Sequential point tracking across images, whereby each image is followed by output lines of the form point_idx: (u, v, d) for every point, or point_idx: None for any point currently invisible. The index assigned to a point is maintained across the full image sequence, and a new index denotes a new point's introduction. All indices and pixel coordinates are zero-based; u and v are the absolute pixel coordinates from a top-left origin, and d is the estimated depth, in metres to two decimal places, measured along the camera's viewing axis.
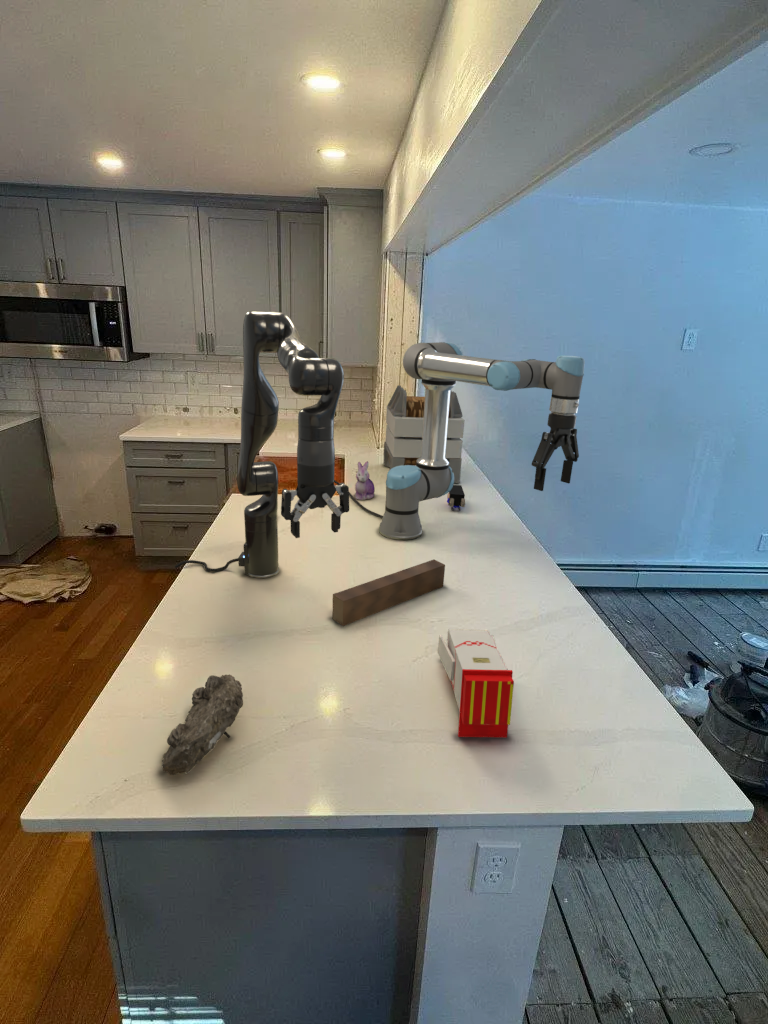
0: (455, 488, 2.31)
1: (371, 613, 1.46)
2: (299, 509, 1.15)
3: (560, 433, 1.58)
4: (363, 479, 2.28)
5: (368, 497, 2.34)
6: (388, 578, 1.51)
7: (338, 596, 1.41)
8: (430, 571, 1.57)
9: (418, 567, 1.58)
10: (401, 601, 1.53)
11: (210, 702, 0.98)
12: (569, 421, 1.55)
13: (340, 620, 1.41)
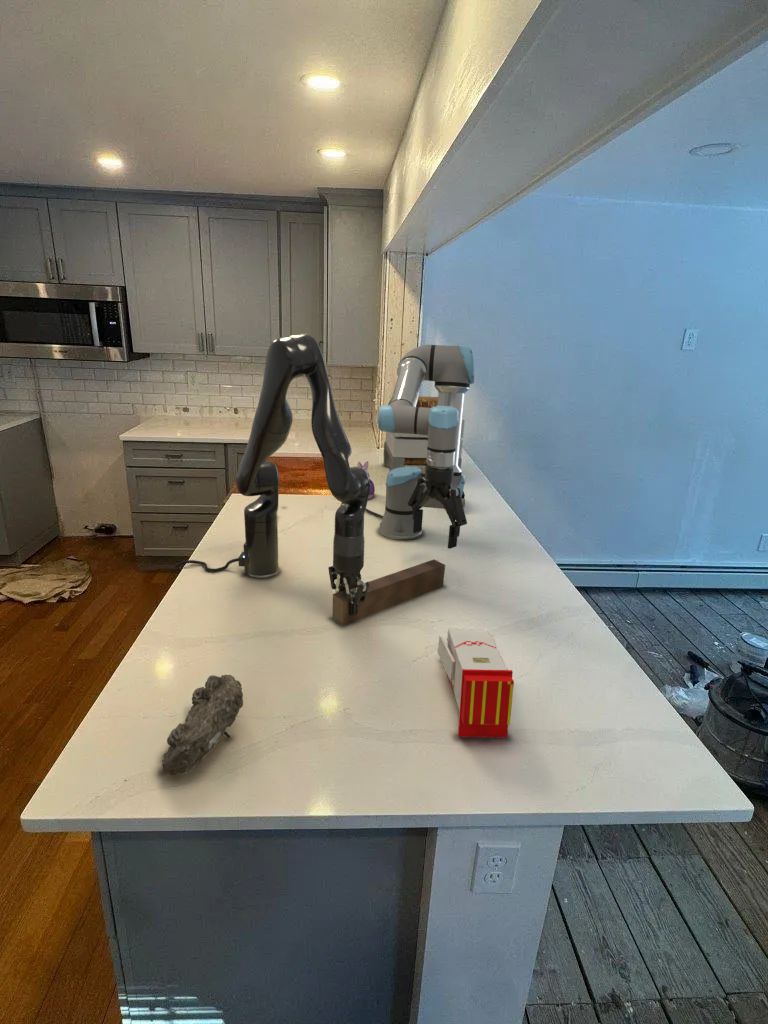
0: None
1: (371, 613, 1.46)
2: None
3: (431, 484, 1.53)
4: None
5: (368, 497, 2.34)
6: (388, 578, 1.51)
7: (338, 596, 1.41)
8: (430, 571, 1.57)
9: (418, 567, 1.58)
10: (401, 601, 1.53)
11: (210, 702, 0.98)
12: (426, 471, 1.50)
13: (340, 620, 1.41)
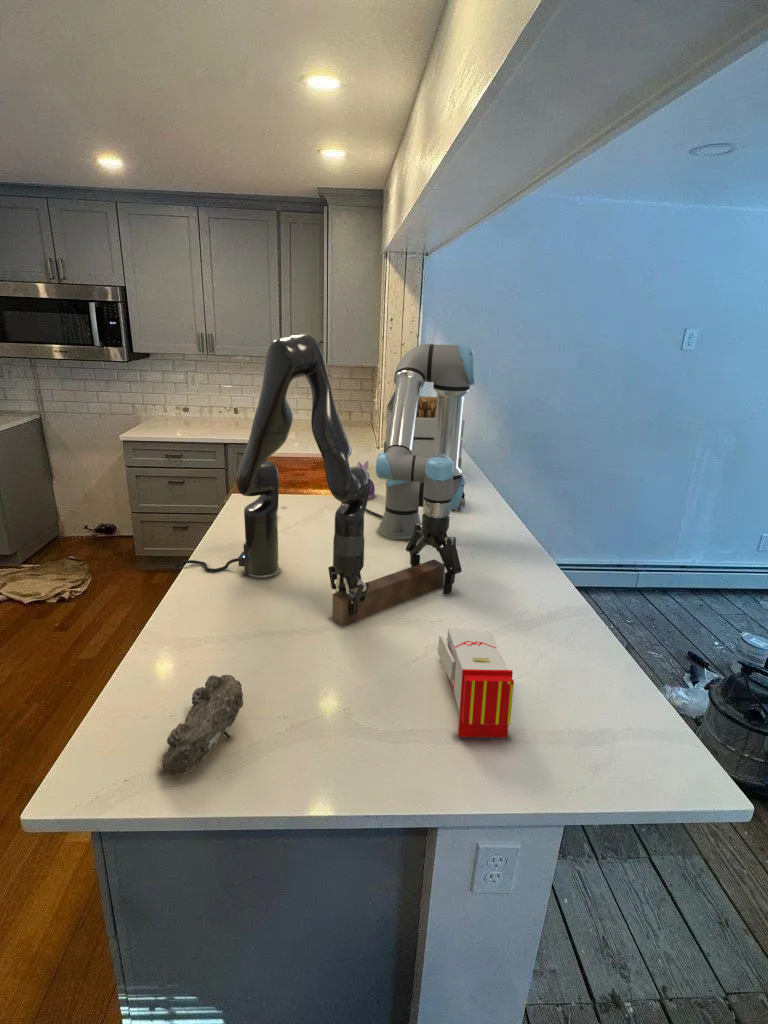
0: None
1: (371, 613, 1.46)
2: None
3: (428, 531, 1.58)
4: None
5: (368, 497, 2.34)
6: (388, 578, 1.51)
7: (338, 596, 1.41)
8: (430, 571, 1.57)
9: (418, 567, 1.58)
10: (401, 601, 1.53)
11: (210, 702, 0.98)
12: (422, 519, 1.55)
13: (340, 620, 1.41)
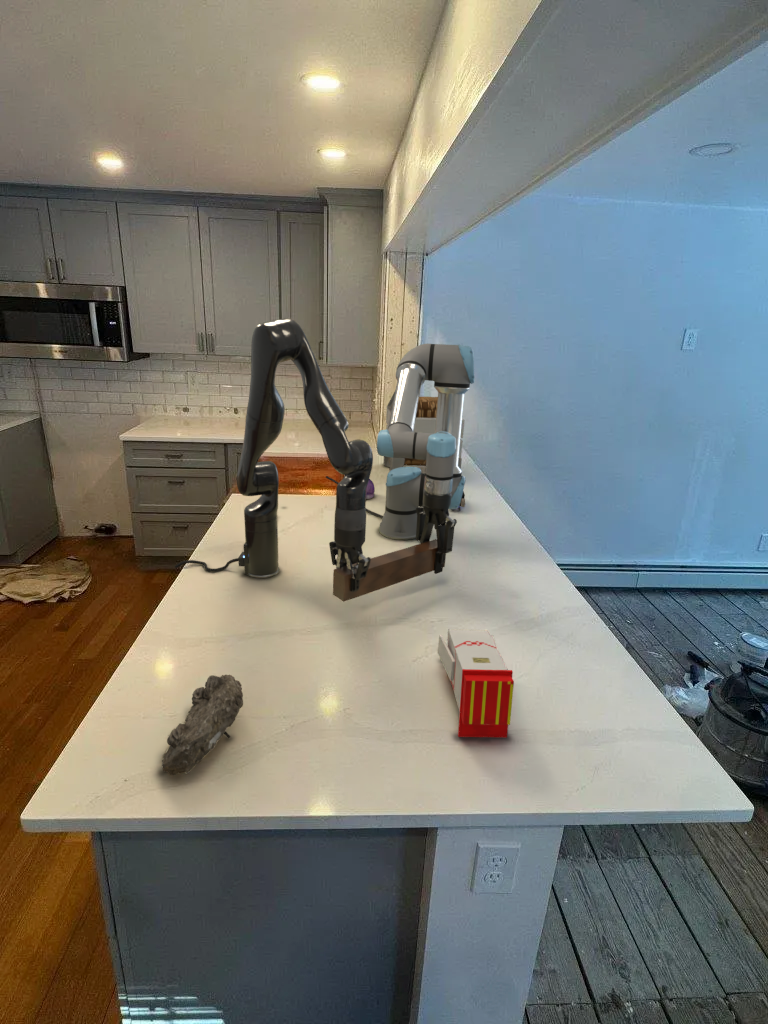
0: None
1: (371, 590, 1.44)
2: None
3: (429, 509, 1.55)
4: None
5: (368, 497, 2.34)
6: (390, 556, 1.49)
7: (340, 571, 1.39)
8: (432, 550, 1.56)
9: (419, 546, 1.57)
10: (402, 579, 1.51)
11: (210, 702, 0.98)
12: (424, 497, 1.53)
13: (340, 596, 1.39)
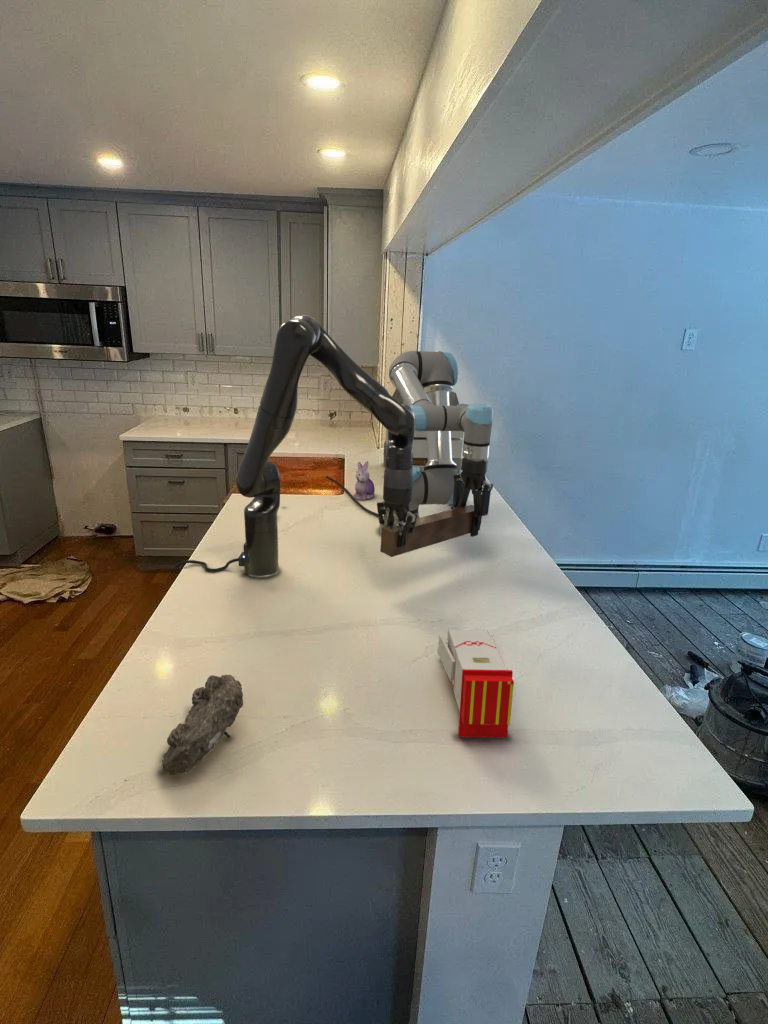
0: None
1: (416, 547, 1.55)
2: None
3: (466, 475, 1.67)
4: (363, 479, 2.28)
5: (368, 497, 2.34)
6: (431, 517, 1.60)
7: (387, 528, 1.50)
8: (469, 513, 1.66)
9: (457, 510, 1.67)
10: (442, 539, 1.62)
11: (210, 702, 0.98)
12: (462, 463, 1.64)
13: (388, 551, 1.50)
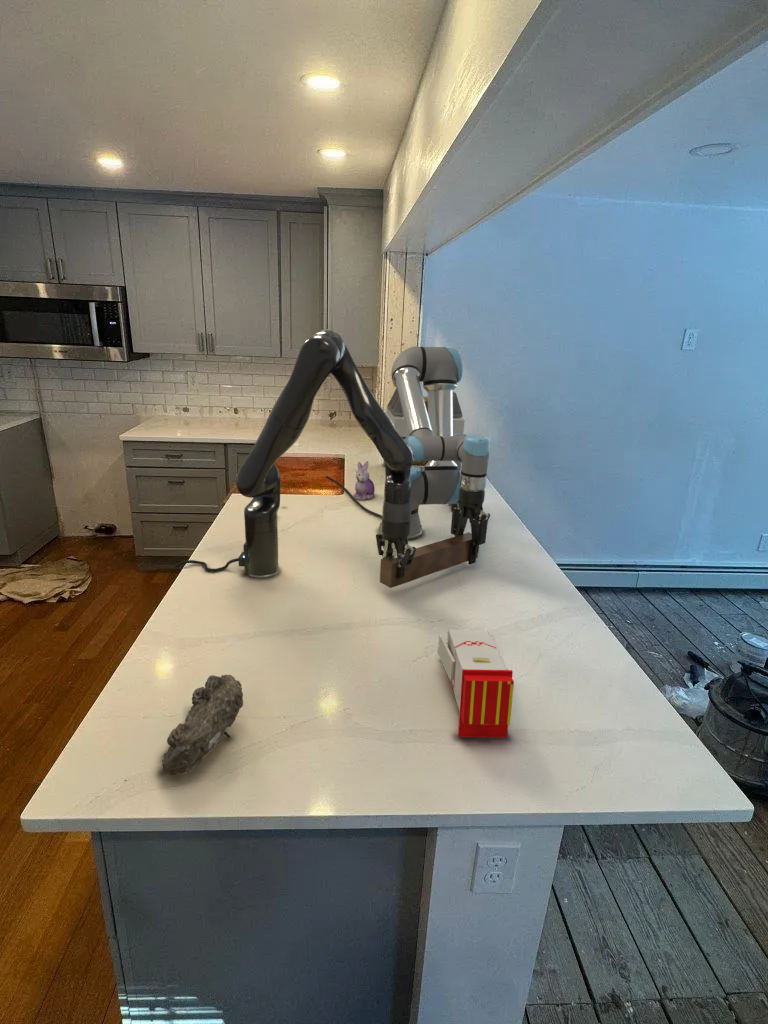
0: None
1: (414, 578, 1.58)
2: None
3: (464, 504, 1.70)
4: (363, 479, 2.28)
5: (368, 497, 2.34)
6: (429, 547, 1.63)
7: (386, 560, 1.53)
8: (467, 542, 1.69)
9: (455, 538, 1.70)
10: (441, 568, 1.65)
11: (210, 702, 0.98)
12: (460, 493, 1.67)
13: (387, 583, 1.53)
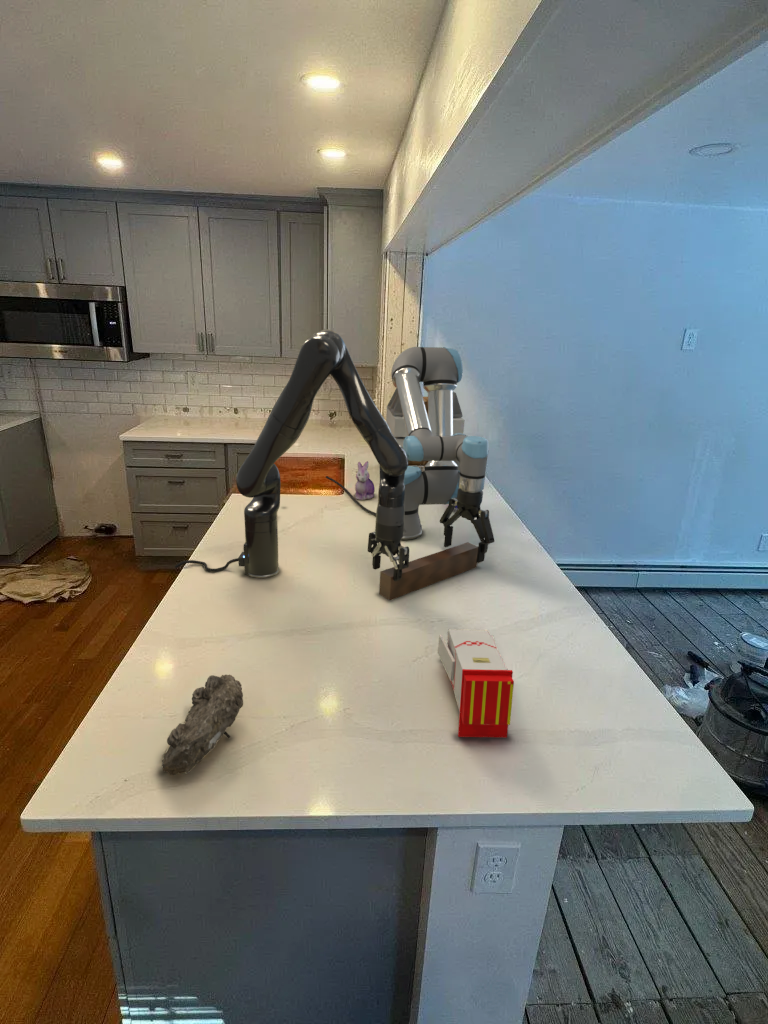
0: None
1: (414, 589, 1.59)
2: None
3: (462, 505, 1.71)
4: (363, 479, 2.28)
5: (368, 497, 2.34)
6: (428, 558, 1.64)
7: (386, 573, 1.54)
8: (466, 552, 1.71)
9: (454, 549, 1.72)
10: (440, 579, 1.66)
11: (210, 702, 0.98)
12: (458, 494, 1.68)
13: (387, 595, 1.55)
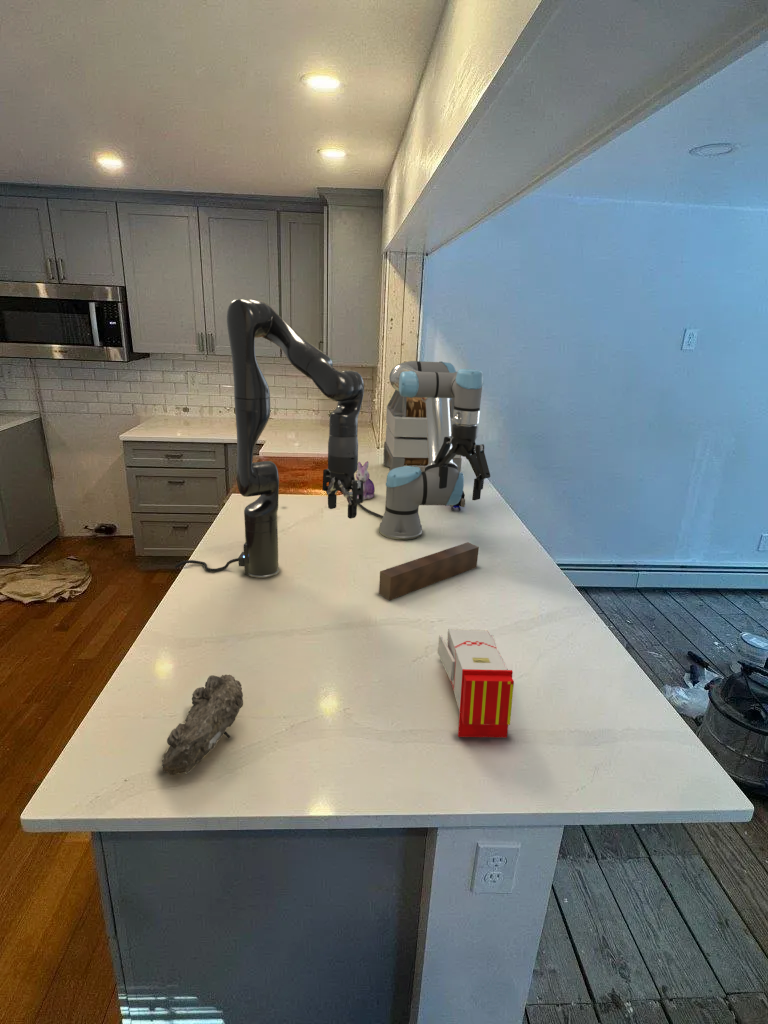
0: None
1: (413, 589, 1.60)
2: None
3: (457, 441, 1.67)
4: (363, 479, 2.28)
5: (368, 497, 2.34)
6: (428, 558, 1.64)
7: (386, 573, 1.54)
8: (466, 552, 1.71)
9: (454, 549, 1.72)
10: (440, 579, 1.66)
11: (210, 702, 0.98)
12: (452, 429, 1.65)
13: (386, 595, 1.55)
